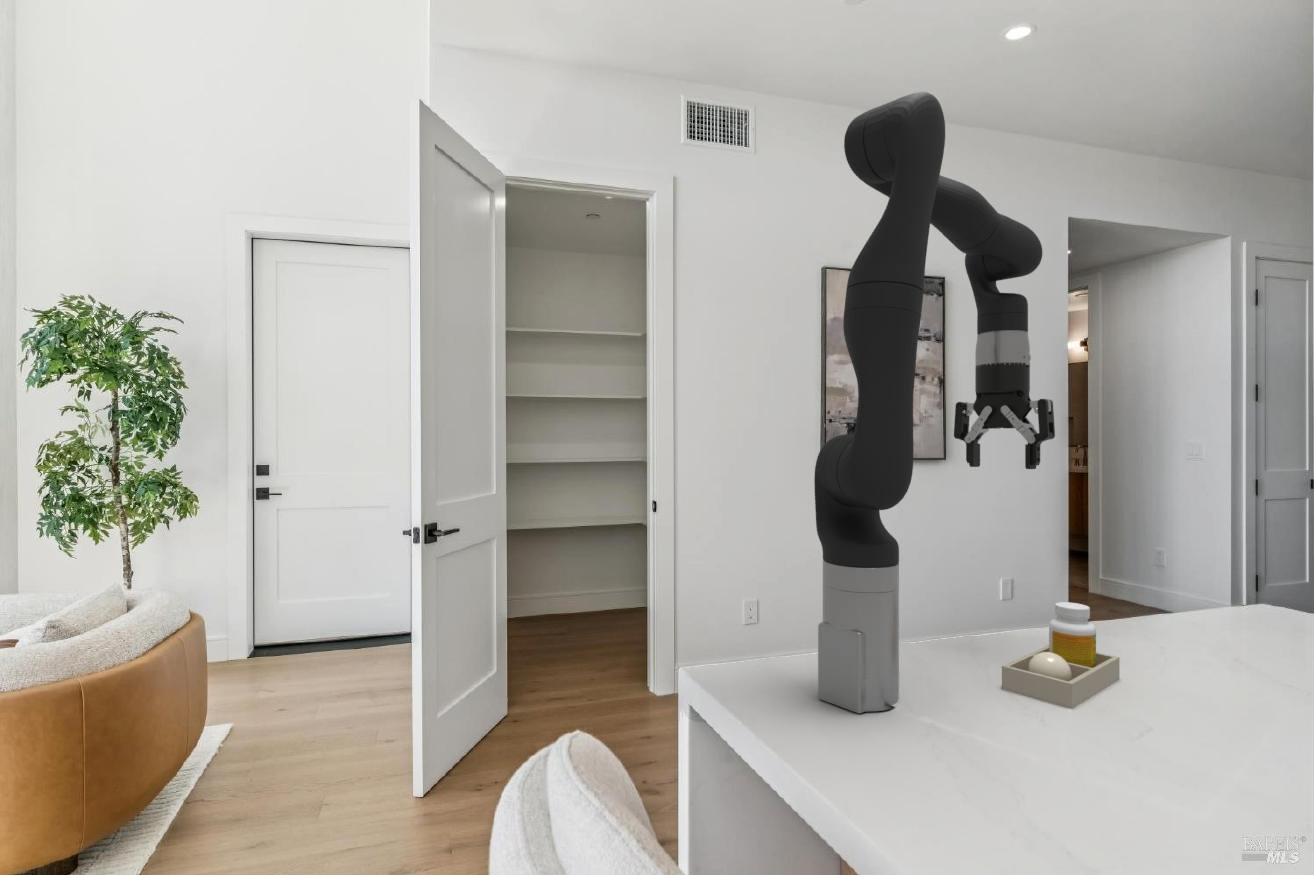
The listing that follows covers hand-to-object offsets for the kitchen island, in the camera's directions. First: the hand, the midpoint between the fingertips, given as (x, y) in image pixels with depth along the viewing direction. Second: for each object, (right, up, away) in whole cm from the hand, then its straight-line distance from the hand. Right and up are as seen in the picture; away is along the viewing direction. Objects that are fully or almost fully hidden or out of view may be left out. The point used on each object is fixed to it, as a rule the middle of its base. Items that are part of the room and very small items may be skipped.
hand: (1002, 467), depth 106 cm
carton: (0, -28, -16) cm, 32 cm away
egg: (-3, -28, -19) cm, 33 cm away
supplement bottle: (+2, -28, -14) cm, 31 cm away
